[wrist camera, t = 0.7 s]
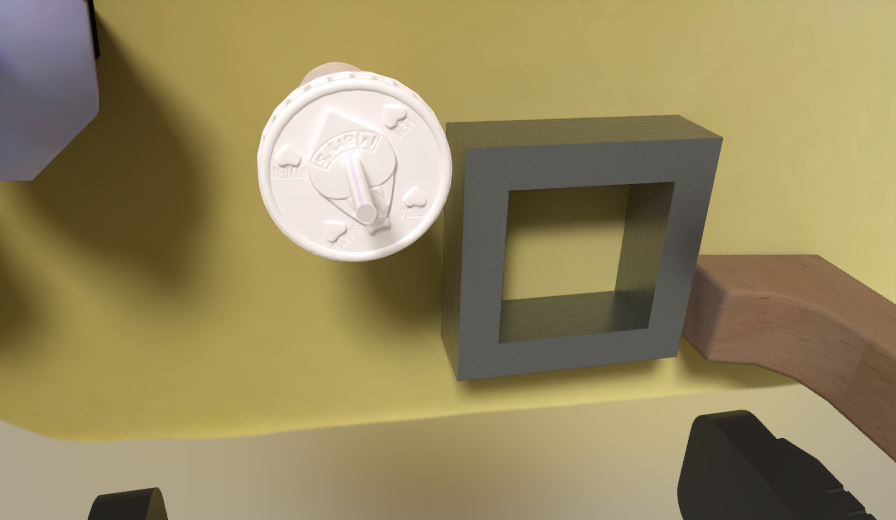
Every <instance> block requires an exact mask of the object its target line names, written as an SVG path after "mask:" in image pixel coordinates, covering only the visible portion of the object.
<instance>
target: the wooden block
mask: <svg viewBox="0 0 896 520" xmlns="http://www.w3.org/2000/svg"><path fill="white" fill-rule="evenodd" d="M682 335H683V337H684V338H685V339H686V340H687V341H688V342H689V343H690V344H691V345H692V346H693V347H694V348H695V349H696V350H697V351H698V352H699V353H700V355H701V356H702V357H703V358H704V359H706V360H708V361H711V362H720V363H735V364H751V365H757V366H760V367H763V368H766V369H768V370H771V371H774V372H777V373H779V374H782V375H785V376H788V377H790V378H793V379H795V380H796V381H798V382H799V383H801V384H802V385H804V386H805V387H807V388H809V389H810V390H812V391H813V392H815V393H816V394H818V395H819V396H821V397H822V398H824V399H825V400H827V401H828V402H829V403H830V404H831V405H832V406H833V407H834V408H836V409H837V410H838V411H839V412H840V413H841V414H842V415H844V417H846V418H847V419H848V420H849V421H850V422H851V423H852V424H853V425H855V426H856V427H857V428H858V429H859V430H860V431H861V432H862V433H863V434H865V435H866V436H867V437H868V438H869V439H870V440H871V441H872V442H874V443H875V444H876V445H877V446H878V447H879V448H880V449H882V450H883V451H884V452H885V453H886V454H887V455H888V456H889V457H890V458H891V459H893V460H894V461H895V462H896V304H894V303H893V302H891V301H890V300H888V299H886V298H885V297H883V296H882V295H880V294H879V293H877V292H876V291H874V290H872V289H871V288H869V287H868V286H866V285H865V284H863V283H861V282H860V281H858V280H857V279H855V278H853V277H852V276H850V275H849V274H847V273H846V272H844V271H842V270H841V269H839V268H838V267H836V266H835V265H833V264H831V263H830V262H828V261H827V260H825V259H823V258H822V257H820V256H818V255H698V258H697V263H696V268H695V272H694V277H693V282H692V287H691V291H690V296H689V301H688V305H687V310H686V315H685V319H684V324H683V329H682Z"/></svg>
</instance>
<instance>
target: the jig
mask: <svg viewBox="0 0 896 520" xmlns="http://www.w3.org/2000/svg"><path fill="white" fill-rule="evenodd" d="M446 138H447V141H448V145H449V148H450V153H451V160H452V177H451V185H450V189H449V193H448V196H447V199H446V202H445V204H444V243H443V286H442V328H441V338H442V341H443V344H444V346H445V349H446V352H447V354H448V357H449V360H450V362H451V365H452V368H453V371H454V373H455V376H456V379H457V381H464V380H473V379H482V378H491V377H500V376H509V375H518V374H527V373H536V372H545V371H554V370H563V369H571V368H580V367H589V366H598V365H607V364H616V363H625V362H634V361H643V360H652V359H661V358H670V357H677V352H678V348H679V343H680V338H681V334H682V329H683V324H684V319H685V315H686V310H687V305H688V301H689V296H690V291H691V287H692V282H693V277H694V272H695V268H696V263H697V258H698V254H699V249H700V244H701V239H702V235H703V230H704V225H705V221H706V216H707V211H708V206H709V202H710V197H711V192H712V188H713V183H714V178H715V174H716V169H717V164H718V159H719V155H720V150H721V145H722V141H723V137H721V136H719V135H717V134H715V133H713V132H711V131H709V130H707V129H705V128H703V127H701V126H699V125H697V124H695V123H693V122H691V121H689V120H687V119H685V118H683V117H681V116H679V115H664V116H634V117H605V118H575V119H545V120H516V121H486V122H456V123H446ZM620 184H631V191H630V197H629V203H628V210H627V216H626V223H625V229H624V236H623V242H622V249H621V255H620V262H619V268H618V274H617V281H616V287H615V291H608V292H597V293H586V294H575V295H563V296H552V297H541V298H529V299H518V300H507V301H501V299H502V284H503V270H504V256H505V241H506V227H507V212H508V198H509V191H512V190H530V189H548V188H566V187H584V186H602V185H620Z"/></svg>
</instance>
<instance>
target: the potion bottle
mask: <svg viewBox="0 0 896 520" xmlns="http://www.w3.org/2000/svg"><path fill="white" fill-rule="evenodd" d="M99 56H100V51H99V44H98V36H97V29H96V22H95V14H94V7H93V0H0V181H32V180H33V179H34V178H35V177H36V176H37V175H38V174H39V173H40V172H41V171H42V170H43V169H44V168H45V167H46V166H47V165H48V164H49V163H50V162H51V161H52V160H53V159H54V158H55V157H56V156H57V155H58V154H59V153H60V152H61V151H62V150H63V149H64V148H65V147H66V146H67V145H68V144H69V143H70V142H71V141H72V140H73V139H74V138H75V137H76V136H77V135H78V134H79V133H80V132H81V131H82V130H83V129H84V128H85V127H86V126H87V125H88V124H89V123H90V122H91V121H92V120H93V119H94V118H95V117H96V116H97V115H98V112H99V81H98V75H97V68H96V61H95V60H96V59H97V58H98V57H99Z"/></svg>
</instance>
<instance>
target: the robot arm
mask: <svg viewBox="0 0 896 520" xmlns="http://www.w3.org/2000/svg"><path fill="white" fill-rule="evenodd" d="M677 496H678V504H679V508H680V511H681V515H682V517H683V520H876V518H875V517H874V516H873V515H871V514H867V513H866V511H865V507H864V506H863V505H862V504H861V503H860V502H859V501H858V500H857V499H856V498H855V497H854V496H853V495H852V494H851V493H850V492H849V491H847V492H845V490H844V489H843V485H842V484H841V483H840V482H839V481H838V480H837V479H836V478H835V477H834V476H833V475H832V474H831V473H830V472H829V471H828V470H827V469H826V468H825V466H824V465H823V464H822V463H821V462H820V461H819V460H817V459H816V458H815V457H813V456H811V455H810V454H808V453H807V452H805V451H803V450H802V449H800V448H799V447H797V446H795V445H794V444H792V443H791V442H789V441H787V440H786V439H784V438H780V439H776V438H775V437H774V436H773V435H772V433H771V432H770V431H769V430H768V429H767V428H766V427H765V426H764V425H763V424H762V423H761V422H760V421H759V419H757V417H756V416H754V415H753V414H752V413H751V412H749V411H746V410H736V411H729V412H721V413H715V414H707V415H700V416H698V417H696V419H695V420H694V422H693V424H692V427H691V431H690V436H689V440H688V444H687V448H686V453H685V457H684V461H683V466H682V469H681V474H680V478H679V482H678V488H677ZM88 520H168V518H167V513H166V509H165V505H164V500H163V497H162V493H161V491H160V489H159V488H157V487H156V488H149V489H141V490H134V491H127V492H119V493H112V494H104V495H99V496H97V498H96V499H95V501H94V502H93V505H92V508H91V511H90V514H89V517H88Z"/></svg>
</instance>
